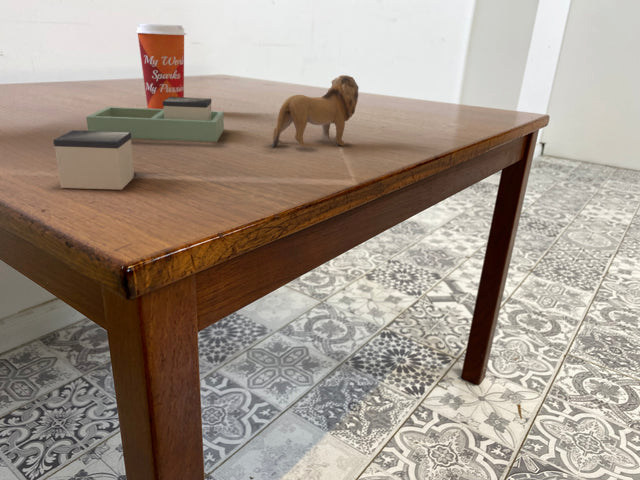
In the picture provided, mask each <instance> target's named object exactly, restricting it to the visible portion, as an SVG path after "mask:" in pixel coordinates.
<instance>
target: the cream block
mask: <svg viewBox="0 0 640 480" xmlns="http://www.w3.org/2000/svg"><path fill="white" fill-rule="evenodd" d="M53 146H54V149H55V157H56V162H57V170H58V177H59V183H60V188H61V189H83V190H84V189H85V190H86V189H88V190H113V191H114V190H115V191H117V190H119V191H120V190H121V191H122V190H123V189H124V188H125V187H126V186H127V185H128V184H129V183H130V182H131V181H132V180H133V179H134V178H135V170H134V169H135V168H134V157H133V147H132V139H131V133H129V132H102V131H88V130H75V129H74V130H70V131H69V132H66V133H64V134H62V135H60V136H58V137H56V138H54V139H53Z"/></svg>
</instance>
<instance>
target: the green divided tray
mask: <svg viewBox="0 0 640 480" xmlns="http://www.w3.org/2000/svg"><path fill="white" fill-rule="evenodd" d="M224 113H225V112H224V111H219V110H218V111H216V110H211V119H212V121H205V120H180V119H164V109H148V107H147V108H145V107H144V108H143V107H123V106H122V107H121V106H120V107H119V106H106V107H104V108H102V109H100V110H98V111H96V112H93V113H91V114H89V115H87V116H85V117H86V126H87V131H102V132H129V133H131V140H159V141H185V142H212V143H213V142H214V143H217V142H218V140H219V139H220V137H221V136H222V134H223V132H224V131H225V118H224V117H225V114H224Z"/></svg>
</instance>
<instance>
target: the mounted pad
mask: <svg viewBox="0 0 640 480" xmlns="http://www.w3.org/2000/svg"><path fill="white" fill-rule="evenodd" d="M163 106H164V119H180V120H205V121H212V119H211V111H212V98H206V97H205V98H204V97H185V96H184V97H169V98H167V99H166V100H164V101H163Z"/></svg>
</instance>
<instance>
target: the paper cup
mask: <svg viewBox="0 0 640 480" xmlns="http://www.w3.org/2000/svg"><path fill="white" fill-rule="evenodd" d="M135 33H137V38H138V39H137V40H138V47H139V53H140V54H139V55H140V61H141V69H142V77H143V85H144V91H145V98H146V106H147V108H148V109H164V106H163V101H164V100H166V99H167V98H169V97H185V36H187V35H188V33H186V32H185V28H184V27H183V25H178V24H162V23H138V24H137V30H135Z"/></svg>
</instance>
